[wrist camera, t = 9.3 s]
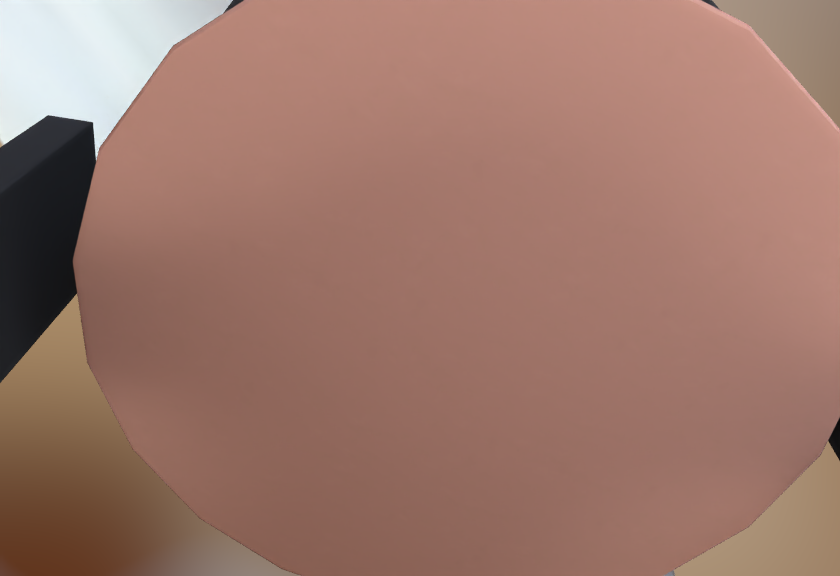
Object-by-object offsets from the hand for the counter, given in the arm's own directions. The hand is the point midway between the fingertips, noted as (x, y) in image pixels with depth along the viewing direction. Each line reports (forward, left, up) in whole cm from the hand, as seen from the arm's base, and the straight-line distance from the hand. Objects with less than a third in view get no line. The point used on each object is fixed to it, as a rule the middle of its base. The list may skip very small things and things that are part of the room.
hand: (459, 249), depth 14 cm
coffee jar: (0, 0, -14) cm, 14 cm away
